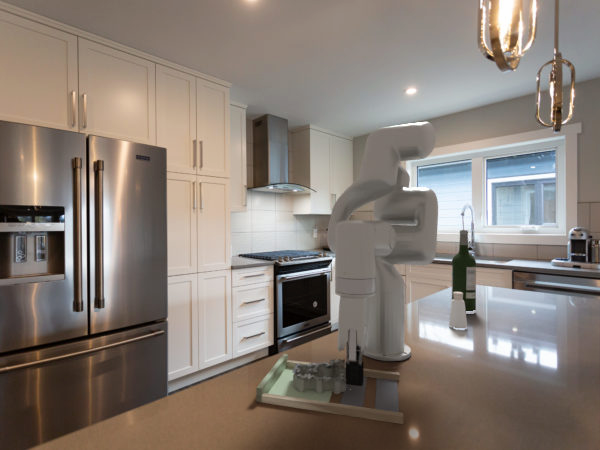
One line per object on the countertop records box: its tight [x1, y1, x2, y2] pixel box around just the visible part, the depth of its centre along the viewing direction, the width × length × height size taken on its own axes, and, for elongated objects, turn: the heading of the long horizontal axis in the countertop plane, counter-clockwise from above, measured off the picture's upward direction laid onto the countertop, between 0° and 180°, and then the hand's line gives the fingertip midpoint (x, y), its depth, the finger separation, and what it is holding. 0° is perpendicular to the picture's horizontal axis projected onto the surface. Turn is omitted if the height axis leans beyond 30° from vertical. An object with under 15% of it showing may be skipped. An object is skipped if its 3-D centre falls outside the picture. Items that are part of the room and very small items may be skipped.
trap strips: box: [339, 376, 400, 413], centre depth 61 cm, size 14×10×1 cm
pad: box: [268, 367, 333, 402], centre depth 64 cm, size 14×12×1 cm
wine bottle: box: [451, 229, 477, 311], centre depth 120 cm, size 8×8×30 cm
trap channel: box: [255, 353, 404, 425], centre depth 63 cm, size 16×25×2 cm, turn 75°
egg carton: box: [292, 358, 346, 395], centre depth 64 cm, size 11×8×4 cm
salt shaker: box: [448, 292, 468, 328], centre depth 101 cm, size 5×5×11 cm
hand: (354, 383), depth 61 cm, fingers closed
